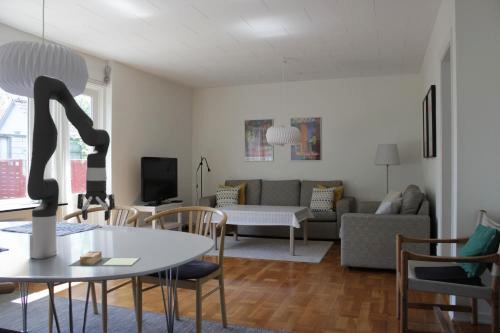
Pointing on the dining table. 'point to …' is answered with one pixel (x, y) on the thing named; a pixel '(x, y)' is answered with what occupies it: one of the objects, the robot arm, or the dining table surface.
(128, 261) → the mat
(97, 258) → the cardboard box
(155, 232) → the dining table surface
